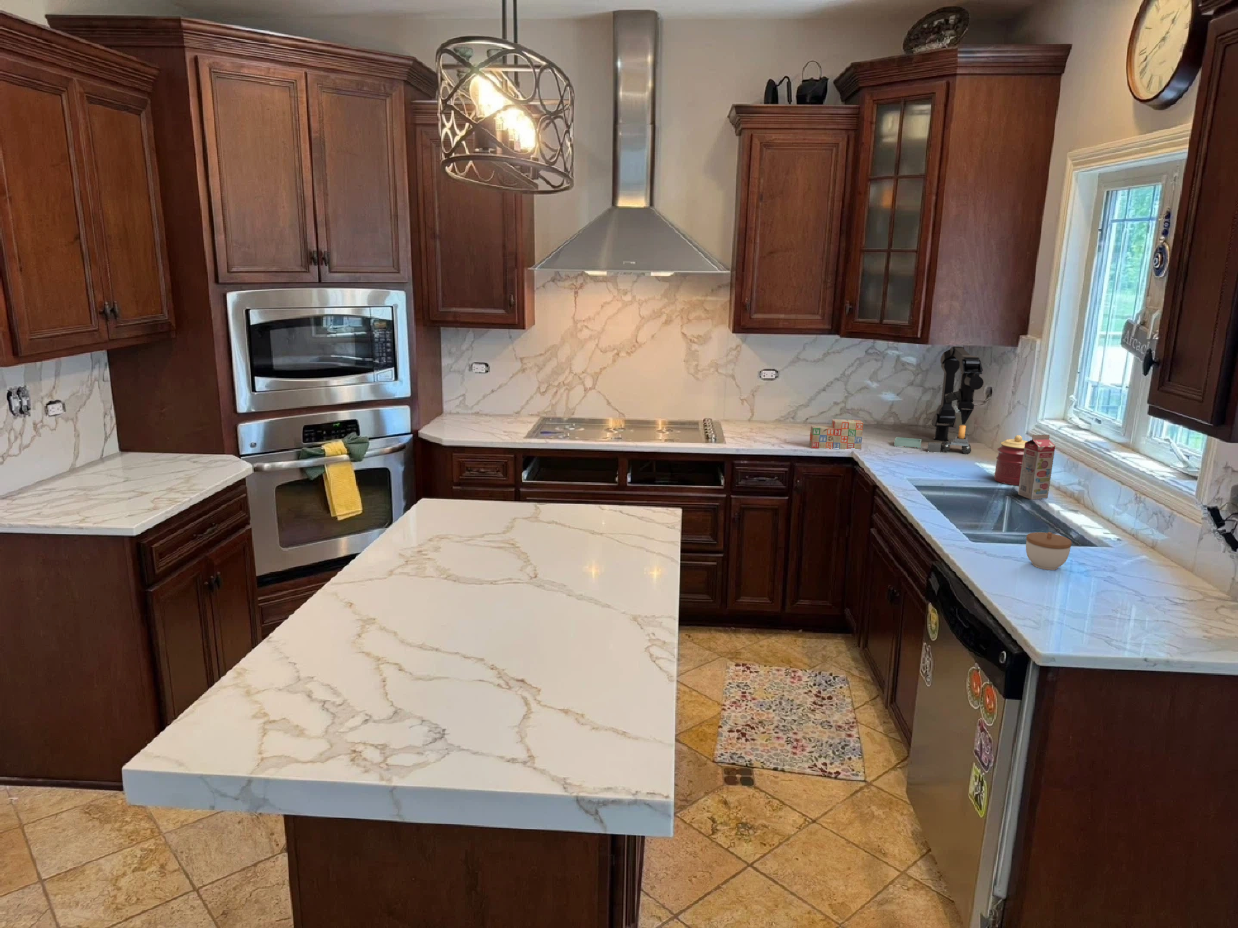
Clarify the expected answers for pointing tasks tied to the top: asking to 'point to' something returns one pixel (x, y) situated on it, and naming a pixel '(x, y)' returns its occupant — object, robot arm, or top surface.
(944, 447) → the grey toy car
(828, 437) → the stack of blocks
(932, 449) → the block
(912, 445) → the tray
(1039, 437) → the juice carton
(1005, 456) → the canister
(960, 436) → the pin
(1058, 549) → the lidded jar
